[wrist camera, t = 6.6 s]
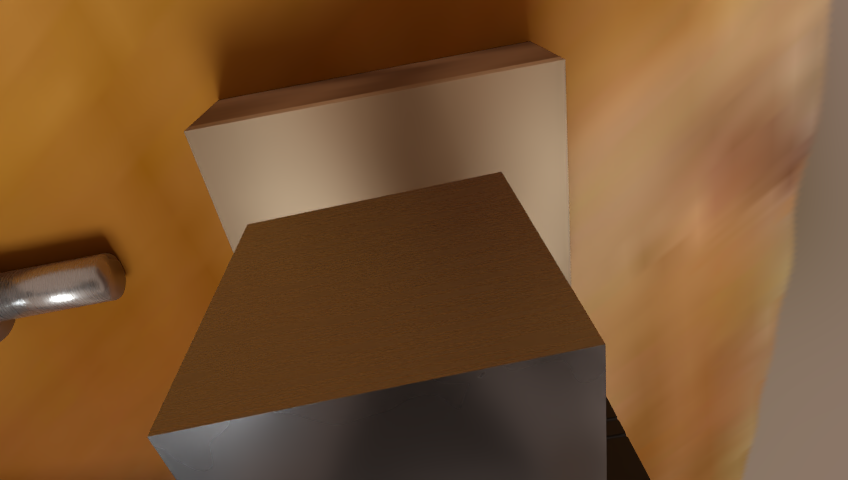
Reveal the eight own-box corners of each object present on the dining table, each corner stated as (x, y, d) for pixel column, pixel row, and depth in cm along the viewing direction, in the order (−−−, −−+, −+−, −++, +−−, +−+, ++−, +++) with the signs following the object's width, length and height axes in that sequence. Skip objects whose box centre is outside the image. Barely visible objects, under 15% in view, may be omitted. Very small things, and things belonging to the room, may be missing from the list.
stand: (305, 341, 25) (295, 403, 22) (218, 100, 19) (184, 131, 16) (545, 296, 25) (572, 351, 22) (530, 41, 19) (565, 59, 16)
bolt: (6, 319, 23) (-45, 367, 20) (-35, 258, 21) (-98, 302, 19) (137, 294, 23) (103, 339, 20) (104, 232, 21) (63, 271, 19)
